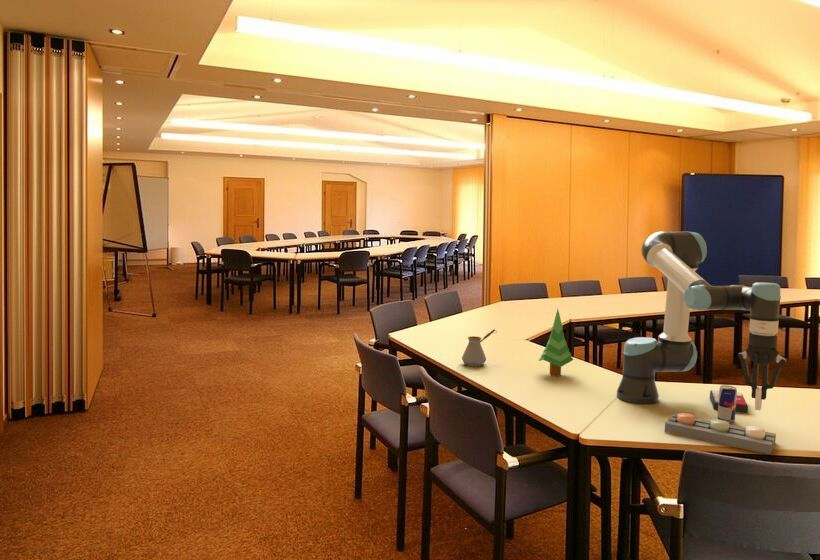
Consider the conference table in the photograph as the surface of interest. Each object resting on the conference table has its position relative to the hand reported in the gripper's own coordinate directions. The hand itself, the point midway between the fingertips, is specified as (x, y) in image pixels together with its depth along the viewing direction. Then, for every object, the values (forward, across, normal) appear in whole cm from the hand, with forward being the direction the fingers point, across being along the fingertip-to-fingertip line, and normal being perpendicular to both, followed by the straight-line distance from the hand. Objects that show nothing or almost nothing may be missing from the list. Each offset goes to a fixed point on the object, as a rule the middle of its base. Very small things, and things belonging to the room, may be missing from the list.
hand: (757, 409), depth 184 cm
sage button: (+9, -10, 0) cm, 14 cm away
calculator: (+12, -14, +39) cm, 43 cm away
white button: (+10, 0, 0) cm, 10 cm away
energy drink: (+12, -11, +19) cm, 25 cm away
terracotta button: (+9, -20, 0) cm, 22 cm away
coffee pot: (+10, -119, +36) cm, 125 cm away
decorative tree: (+11, -82, +38) cm, 91 cm away
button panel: (+11, -10, 0) cm, 15 cm away
